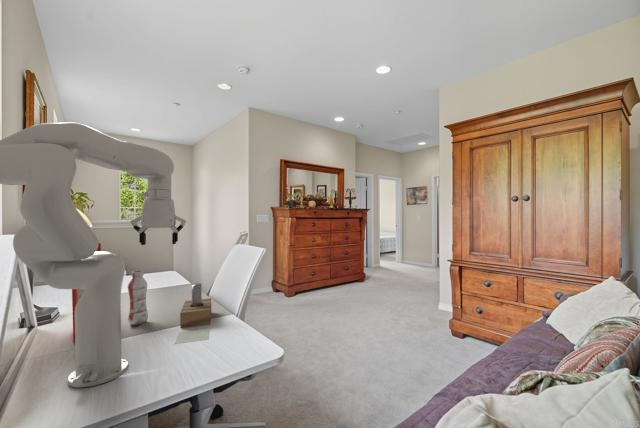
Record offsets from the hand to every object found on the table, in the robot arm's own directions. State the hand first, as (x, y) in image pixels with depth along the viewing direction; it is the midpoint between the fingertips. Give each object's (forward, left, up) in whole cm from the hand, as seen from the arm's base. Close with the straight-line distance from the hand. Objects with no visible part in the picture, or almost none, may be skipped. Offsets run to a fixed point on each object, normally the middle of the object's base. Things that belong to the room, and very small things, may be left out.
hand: (159, 244), depth 103 cm
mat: (-8, -11, -31) cm, 34 cm away
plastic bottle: (+13, +10, -31) cm, 35 cm away
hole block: (+9, -11, -31) cm, 34 cm away
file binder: (+10, +25, -31) cm, 41 cm away
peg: (+9, -11, -31) cm, 34 cm away
